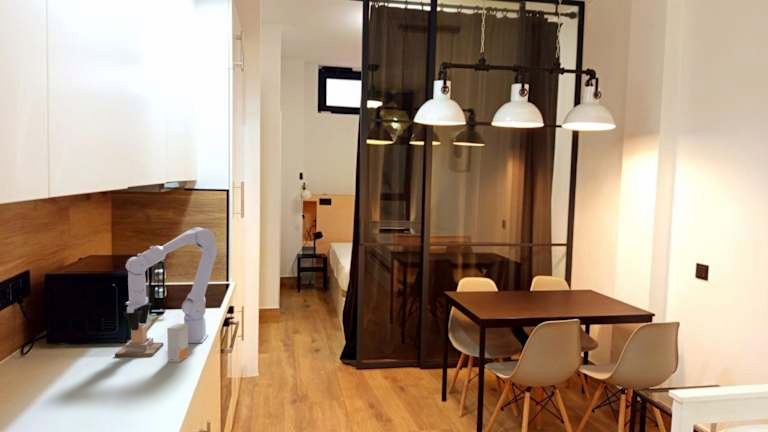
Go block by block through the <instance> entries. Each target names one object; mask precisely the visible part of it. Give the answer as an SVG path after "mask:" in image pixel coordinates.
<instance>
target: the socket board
mask: <svg viewBox="0 0 768 432" xmlns="http://www.w3.org/2000/svg"><path fill="white" fill-rule="evenodd" d="M163 346H164V342H154V337H147V342H146V343H145V344H131V340H129V341H127V343H125V344H124V345H123V347H121V348H120V349H118V351H116V352H115V353H114V358H132V357H133V358H134V357H136V358H137V357H140V358H141V357H154V356H155V355H156V353H158V351H160V350H161V349H162V348H163Z"/></svg>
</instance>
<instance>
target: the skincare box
mask: <svg viewBox="0 0 768 432" xmlns="http://www.w3.org/2000/svg"><path fill="white" fill-rule="evenodd" d="M166 331H167V362H169V363H180V362H181V361H183V360H185V359H186V358H188V357H189V343H188V328H187V324H184V323H179V322H178V323H175V324H173V325H171V326H169V327H168V328H167V330H166Z"/></svg>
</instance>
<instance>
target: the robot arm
mask: <svg viewBox="0 0 768 432" xmlns="http://www.w3.org/2000/svg"><path fill="white" fill-rule="evenodd" d="M215 240H216V236H215V235H214V234H213V232H212V231H211V230H210V229H208V228H202V227H199V226H196V227H193V228H192V229H188V230H186V231H185V232H183V233H182V234H180V235H177V237H175V238H173V239H171V240H170V241H168V242H166V243H165V244H163V245H162V246H160V245H151V246H150V247H149V249H147V250H146V251H143V252H142V253H137V254H136V255H137V256H131V257H130V258H128V259H127V261H126V264H125V269H126V270H127V273H128V274H127V275H128V276H127V277H128V278H127V281H128V282H127V285H128V288H127V289H128V301H126V302H125V305H127V307H126V310H125V311H124V312H123V315H124V316H125V317H126V319H127V321H128V323H129V327H130V331H131V330H138V328H139V325H147V321H148V318H149V317H148V316H149V313H150V309H151V307H152V302H149V296H147V281H146V279H147V278H146V271H147V270H148V269H149V268H151V267H153V266H154V265H156V264H158V263H159V262H161V261H163V260H165V258H166V256H167V254H169V253H171V252H173V251H175V250H177V249H179V248H181V247H183V246H185V245H197V246H198V248H199V250H200V251H201V257H200V260H199V264H198V267H197V271H196V273H195V277H194V280H193V283H192V287H191V289H190V290H191V291H190V292H189V293H188V294H187V296H186V299H185V300H184V301H183V303H182V305H181V311H182V312H183V313H184V317H183V324H187V328H188V344H203V342H204V341H205V340H206V339H207V337H209V334H208V333H206V332H207V329H206V328H207V327H206V326H207V325H206V318H205V317H204V316H205V314H206V303H207V302H206V296H205V295H206V291H207V289H208V286H209V282H210V278H211V275H212V271H213V268H214V264H215V261H216V257H217V254H218V247H217V244H216V241H215Z"/></svg>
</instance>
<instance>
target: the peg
mask: <svg viewBox="0 0 768 432" xmlns="http://www.w3.org/2000/svg"><path fill="white" fill-rule="evenodd" d="M147 327H148V326H147V324H139V328H138V330H131V329H130V332H131V333H130V341H131V344H145V343H146V342H147V338H148V335H147V333H148V330H147Z"/></svg>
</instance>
